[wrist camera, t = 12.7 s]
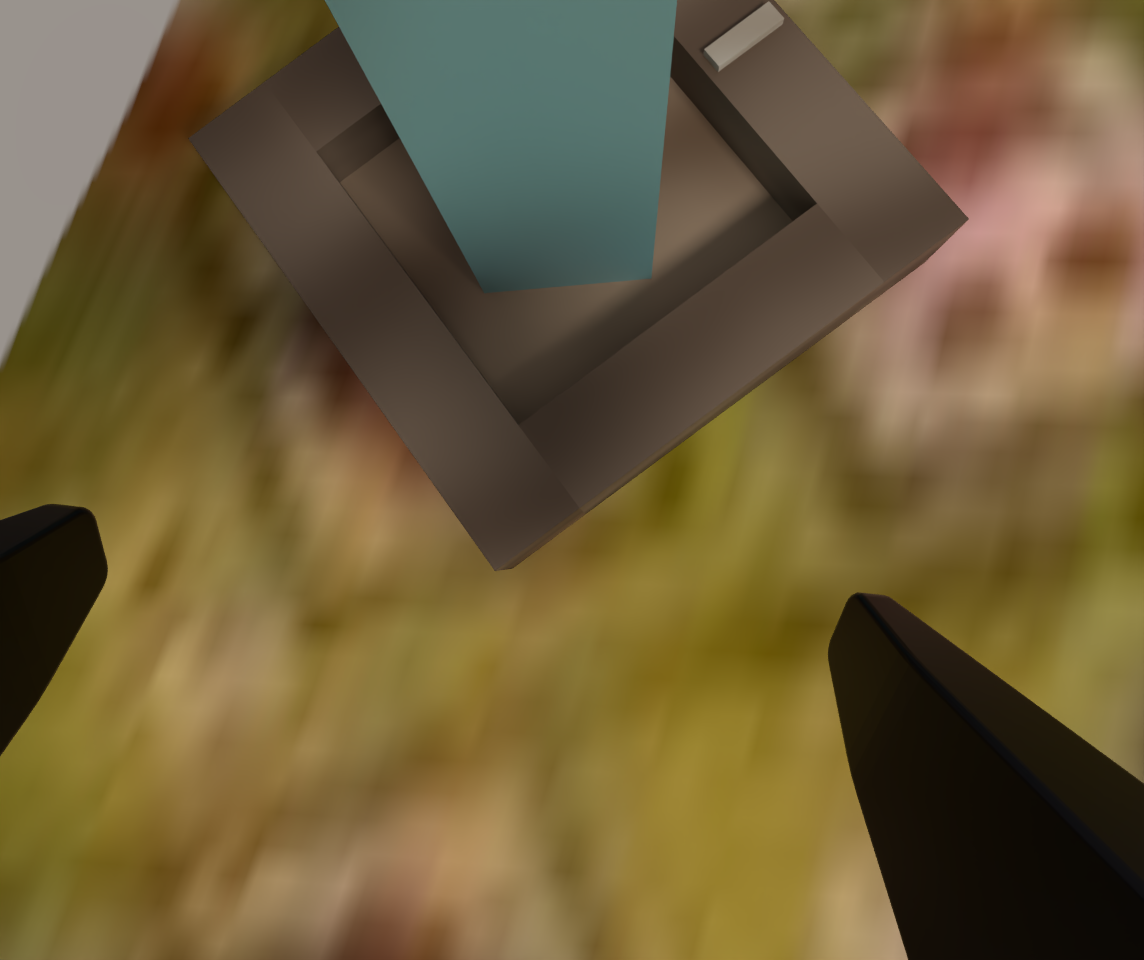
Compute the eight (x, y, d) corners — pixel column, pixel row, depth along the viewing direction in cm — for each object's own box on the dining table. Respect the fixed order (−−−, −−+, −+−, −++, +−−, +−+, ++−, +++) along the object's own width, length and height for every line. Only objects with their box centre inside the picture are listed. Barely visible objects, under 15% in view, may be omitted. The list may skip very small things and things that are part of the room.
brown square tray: (924, 262, 19) (973, 215, 16) (511, 568, 19) (493, 571, 16) (616, -92, 21) (615, -187, 18) (240, 187, 21) (183, 133, 18)
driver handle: (651, 278, 18) (707, -324, 6) (484, 293, 19) (189, -248, 6) (639, 120, 19) (667, -753, 6) (477, 136, 19) (190, -664, 7)
